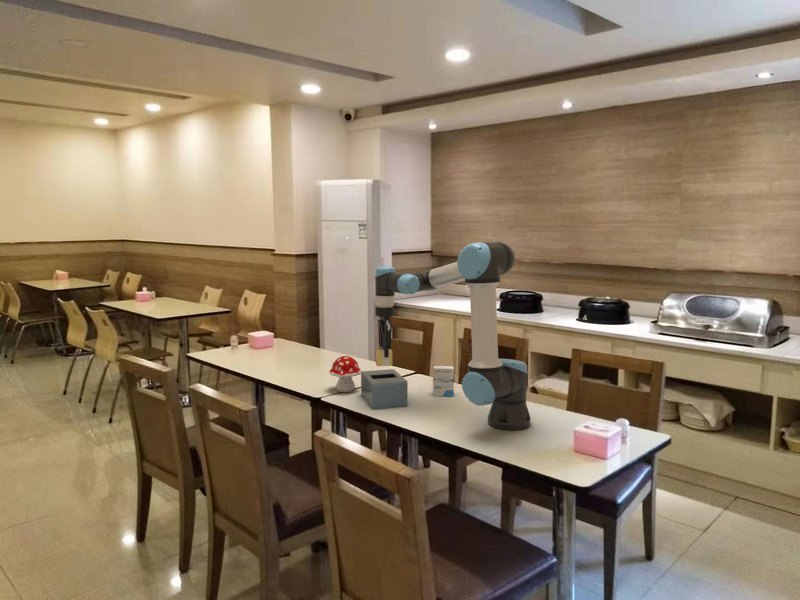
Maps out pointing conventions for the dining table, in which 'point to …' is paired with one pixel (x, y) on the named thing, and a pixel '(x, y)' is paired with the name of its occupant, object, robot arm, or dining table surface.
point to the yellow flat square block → (379, 358)
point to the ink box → (443, 381)
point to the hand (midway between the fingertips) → (384, 364)
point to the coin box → (384, 389)
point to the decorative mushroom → (345, 373)
